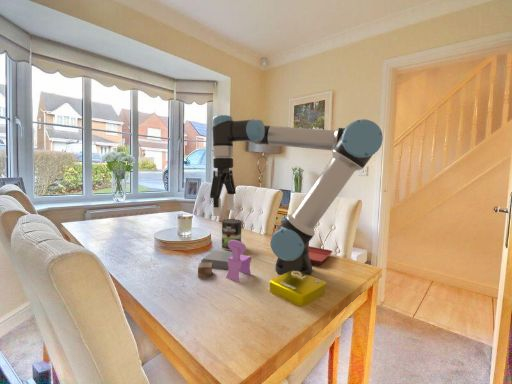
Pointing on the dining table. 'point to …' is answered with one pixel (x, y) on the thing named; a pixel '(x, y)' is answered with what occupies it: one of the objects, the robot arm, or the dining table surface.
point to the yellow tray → (297, 287)
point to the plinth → (218, 259)
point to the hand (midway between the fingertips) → (224, 212)
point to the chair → (237, 260)
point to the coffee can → (230, 232)
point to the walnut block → (205, 270)
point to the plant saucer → (318, 255)
